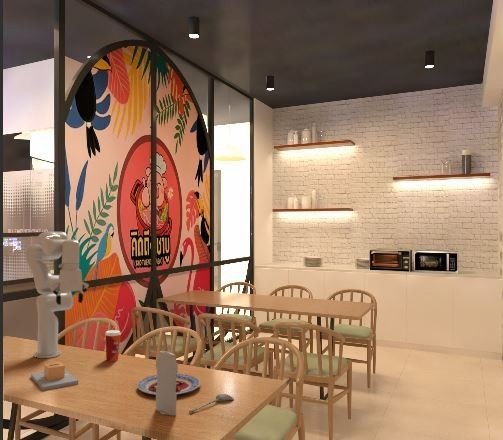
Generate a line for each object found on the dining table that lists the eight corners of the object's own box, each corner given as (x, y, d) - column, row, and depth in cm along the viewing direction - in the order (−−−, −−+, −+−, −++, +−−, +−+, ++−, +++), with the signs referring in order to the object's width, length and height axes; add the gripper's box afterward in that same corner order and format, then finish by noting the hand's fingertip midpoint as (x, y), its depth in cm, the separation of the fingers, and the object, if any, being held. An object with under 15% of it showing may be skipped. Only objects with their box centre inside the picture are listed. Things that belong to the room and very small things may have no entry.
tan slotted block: (48, 380, 196) (48, 367, 196) (44, 376, 201) (44, 363, 201) (64, 377, 200) (64, 365, 200) (59, 373, 205) (60, 361, 205)
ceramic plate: (188, 402, 179) (188, 394, 179) (126, 396, 184) (126, 389, 184) (207, 380, 204) (207, 374, 204) (152, 376, 209) (152, 369, 209)
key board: (30, 377, 204) (31, 365, 204) (64, 371, 212) (64, 360, 212) (42, 390, 188) (43, 378, 188) (78, 383, 197) (78, 372, 197)
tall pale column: (180, 414, 167) (181, 352, 168) (172, 417, 164) (173, 355, 164) (159, 407, 173) (160, 347, 174) (151, 410, 170) (152, 350, 170)
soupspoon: (237, 402, 183) (225, 398, 187) (237, 393, 183) (225, 390, 187) (196, 417, 166) (183, 412, 170) (196, 407, 166) (183, 403, 170)
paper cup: (117, 362, 229) (118, 333, 229) (102, 361, 229) (102, 333, 229) (122, 357, 236) (122, 329, 237) (107, 357, 237) (107, 329, 237)
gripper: (53, 268, 210) (52, 306, 209) (91, 266, 220) (90, 302, 220) (48, 266, 216) (47, 303, 215) (86, 265, 226) (85, 300, 226)
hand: (69, 303), depth 218 cm, fingers open, 9 cm apart
